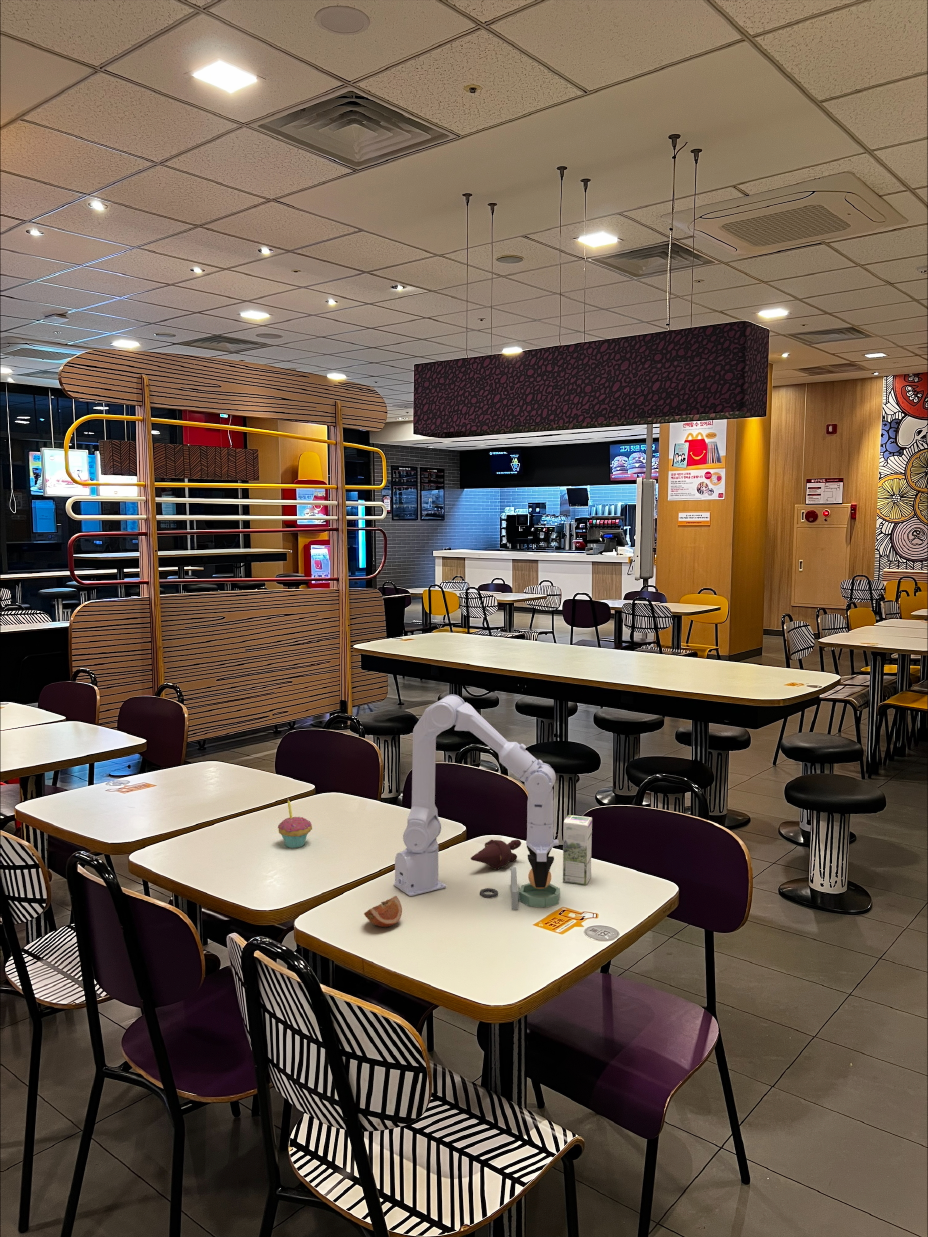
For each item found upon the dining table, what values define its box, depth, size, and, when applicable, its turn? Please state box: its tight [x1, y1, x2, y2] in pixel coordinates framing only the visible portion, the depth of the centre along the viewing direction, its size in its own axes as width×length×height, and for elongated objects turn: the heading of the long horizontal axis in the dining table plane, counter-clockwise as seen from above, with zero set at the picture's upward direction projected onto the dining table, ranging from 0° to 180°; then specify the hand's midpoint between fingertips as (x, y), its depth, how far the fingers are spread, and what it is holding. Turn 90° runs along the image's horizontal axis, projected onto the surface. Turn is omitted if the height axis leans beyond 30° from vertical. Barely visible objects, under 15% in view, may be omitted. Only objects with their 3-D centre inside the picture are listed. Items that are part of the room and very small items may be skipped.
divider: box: [510, 866, 519, 911], centre depth 194 cm, size 14×1×4 cm, turn 178°
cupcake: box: [277, 798, 313, 849], centre depth 226 cm, size 9×8×12 cm
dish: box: [518, 882, 561, 909], centre depth 193 cm, size 9×9×2 cm
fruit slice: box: [363, 895, 403, 928], centre depth 180 cm, size 8×7×5 cm
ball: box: [528, 868, 552, 889], centre depth 192 cm, size 5×5×5 cm
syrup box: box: [562, 814, 593, 886], centre depth 203 cm, size 6×6×14 cm
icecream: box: [470, 839, 522, 870], centre depth 211 cm, size 7×7×15 cm
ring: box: [479, 887, 499, 899], centre depth 195 cm, size 4×4×1 cm
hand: (539, 882), depth 193 cm, fingers closed on ball, 5 cm apart
